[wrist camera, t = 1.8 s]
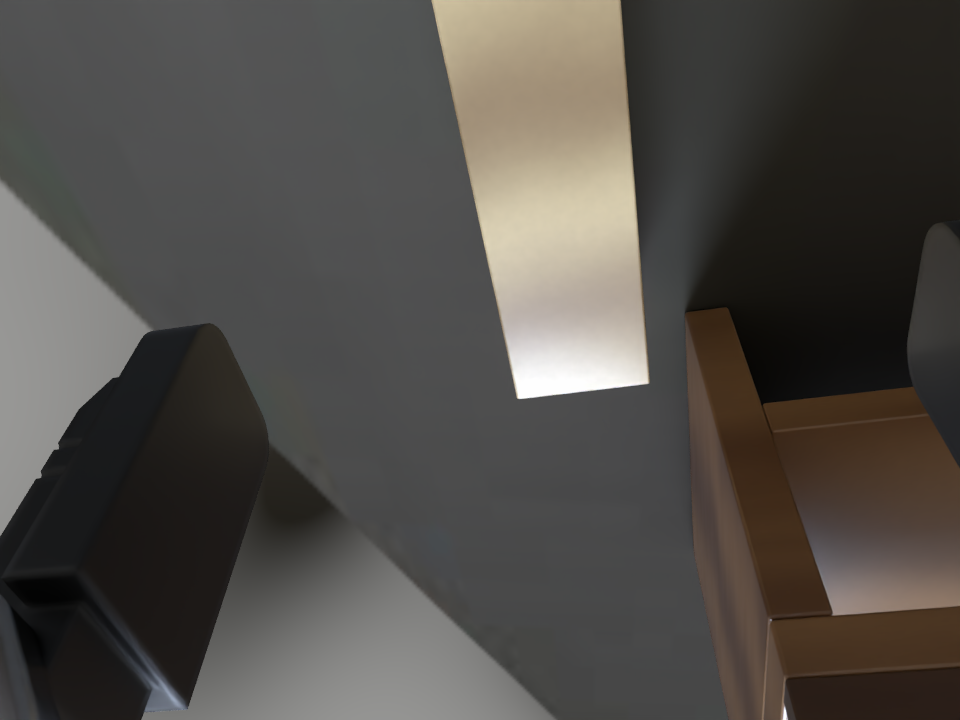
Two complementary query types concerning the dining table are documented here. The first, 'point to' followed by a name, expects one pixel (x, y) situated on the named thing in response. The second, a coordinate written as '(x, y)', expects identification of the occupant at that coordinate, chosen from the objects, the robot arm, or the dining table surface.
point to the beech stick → (552, 184)
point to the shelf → (822, 544)
